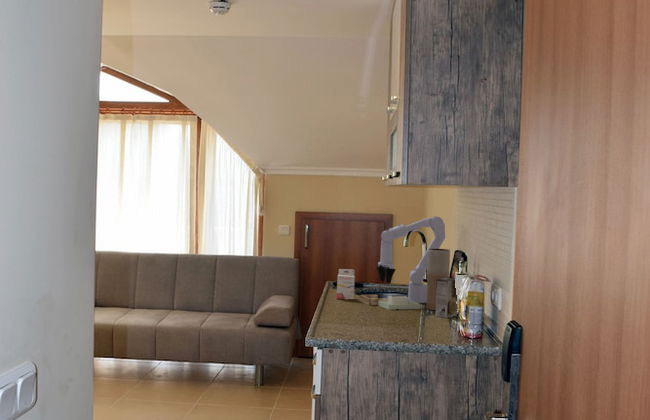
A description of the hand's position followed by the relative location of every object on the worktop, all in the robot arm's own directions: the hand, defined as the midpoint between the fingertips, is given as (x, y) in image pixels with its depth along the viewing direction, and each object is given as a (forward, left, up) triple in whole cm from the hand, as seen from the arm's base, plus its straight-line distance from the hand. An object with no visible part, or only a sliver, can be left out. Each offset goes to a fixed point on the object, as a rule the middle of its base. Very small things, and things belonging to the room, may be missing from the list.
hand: (385, 281), depth 314 cm
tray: (+2, +21, -9) cm, 23 cm away
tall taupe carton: (-14, +28, -10) cm, 33 cm away
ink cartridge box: (+18, -8, -10) cm, 22 cm away
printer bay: (+9, +7, -9) cm, 15 cm away
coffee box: (-9, +46, -10) cm, 48 cm away
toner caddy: (+3, +21, -9) cm, 23 cm away
